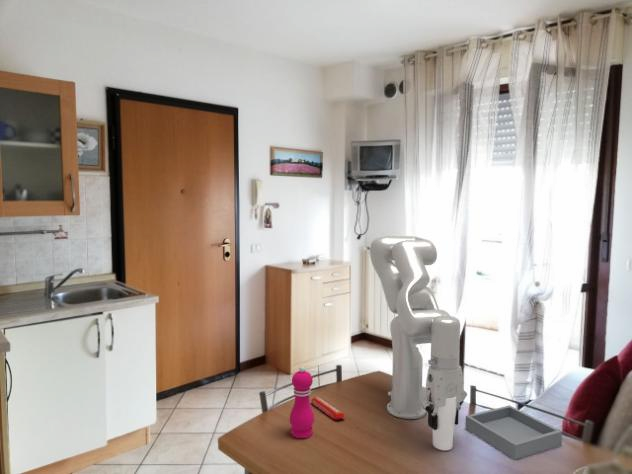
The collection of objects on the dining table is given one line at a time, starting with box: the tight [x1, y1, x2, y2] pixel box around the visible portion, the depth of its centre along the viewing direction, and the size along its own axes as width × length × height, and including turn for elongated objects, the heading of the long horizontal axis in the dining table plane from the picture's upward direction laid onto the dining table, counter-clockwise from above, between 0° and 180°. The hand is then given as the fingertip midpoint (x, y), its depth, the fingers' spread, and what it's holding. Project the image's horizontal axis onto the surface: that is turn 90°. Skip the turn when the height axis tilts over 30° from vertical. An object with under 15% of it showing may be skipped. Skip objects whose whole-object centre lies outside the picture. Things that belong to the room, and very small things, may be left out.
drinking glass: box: [431, 397, 457, 451], centre depth 122 cm, size 7×7×15 cm
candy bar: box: [310, 396, 346, 421], centre depth 143 cm, size 16×4×3 cm, turn 32°
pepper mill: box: [289, 366, 315, 439], centre depth 128 cm, size 7×7×20 cm
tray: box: [464, 404, 563, 461], centre depth 128 cm, size 18×18×4 cm
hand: (443, 424), depth 122 cm, fingers closed on drinking glass, 6 cm apart
